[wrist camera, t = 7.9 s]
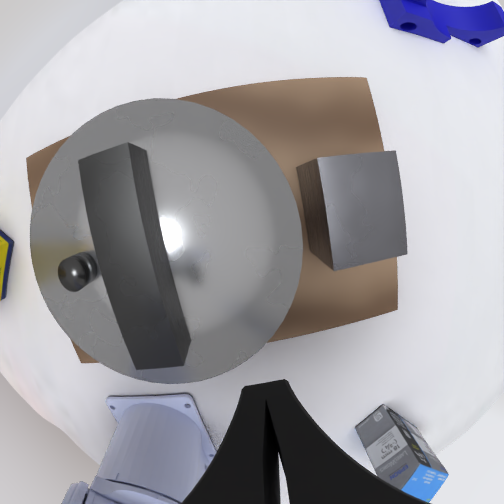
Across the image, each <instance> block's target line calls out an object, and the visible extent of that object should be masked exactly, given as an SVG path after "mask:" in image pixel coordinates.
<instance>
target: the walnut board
mask: <svg viewBox="0 0 504 504" xmlns="http://www.w3.org/2000/svg"><path fill="white" fill-rule="evenodd" d="M177 100H183V101H189V102H194V103H197V104H200V105H203V106H206V107H209V108H212V109H214V110H216V111H218V112H220V113H222V114H224V115H226V116H228V117H230V118H231V119H233V120H234V121H236V122H237V123H239V124H240V125H241V126H243V127H244V128H245V129H247V130H248V131H249V132H250V133H252V134H253V135H254V136H255V137H256V138H257V139H258V140H259V141H260V142H261V143H262V144H263V145H264V146H265V147H266V149H267V150H268V151H269V153H270V154H271V155H272V157H273V158H274V159H275V161H276V162H277V163H278V165H279V167H280V168H281V170H282V172H283V174H284V176H285V177H286V179H287V181H288V183H289V185H290V188H291V191H292V193H293V196H294V198H295V201H296V204H297V208H298V213H299V217H300V221H301V228H302V240H303V254H302V268H301V273H300V278H299V283H298V287H297V290H296V293H295V296H294V299H293V302H292V304H291V306H290V308H289V310H288V312H287V314H286V316H285V318H284V320H283V322H282V323H281V325H280V326H279V328H278V329H277V331H276V332H275V333H274V335H273V336H272V337H271V338H270V339H269V340H268V342H273V341H278V340H283V339H288V338H293V337H297V336H302V335H306V334H310V333H315V332H319V331H323V330H327V329H331V328H335V327H339V326H343V325H347V324H350V323H354V322H358V321H361V320H365V319H368V318H372V317H375V316H378V315H382V314H385V313H388V312H392V311H395V310H398V280H397V257H394V258H389V259H385V260H381V261H377V262H373V263H368V264H364V265H360V266H355V267H351V268H347V269H342V270H338V271H333V270H332V269H331V268H329V267H328V266H327V265H326V264H325V263H323V262H322V261H321V260H320V259H319V258H318V257H316V256H315V255H314V254H313V253H312V252H310V250H309V243H308V236H307V229H306V223H305V217H304V210H303V204H302V198H301V193H300V187H299V181H298V176H297V170H296V167H297V166H299V165H302V164H304V163H306V162H309V161H311V160H313V159H316V158H320V157H329V156H337V155H347V154H357V153H369V152H382V151H384V147H383V142H382V138H381V133H380V128H379V124H378V119H377V115H376V111H375V107H374V103H373V99H372V96H371V92H370V89H369V85H368V82H367V78H362V77H328V78H305V79H291V80H280V81H271V82H262V83H255V84H248V85H241V86H235V87H229V88H223V89H218V90H213V91H208V92H203V93H199V94H194V95H190V96H186V97H182V98H178V99H177ZM69 137H70V136H69ZM69 137H67V138H65V139H62V140H60V141H58V142H56V143H54V144H52V145H50V146H48V147H46V148H44V149H42V150H40V151H38V152H36V153H34V154H33V155H31V156H29V157H27V158H26V161H27V172H28V182H29V190H30V197H31V204H32V209H33V204H34V200H35V196H36V193H37V190H38V187H39V184H40V182H41V179H42V177H43V175H44V173H45V171H46V169H47V167H48V165H49V163H50V162H51V160H52V159H53V157H54V156H55V154H56V153H57V151H58V150H59V148H60V147H61V146H62V145H63V144H64V143H65V142H66V140H67V139H68V138H69ZM71 341H72V340H71ZM268 342H267V343H268ZM72 344H73V346H74V348H75V351H76V353H77V355H78V357H79V359H80V361H81V363H100V362H98V361H97V360H95V359H93V358H92V357H91V356H89V355H88V354H87V353H86V352H84V351H83V350H82V349H81V348H80V347H79V346H77V345H76V344H75V343H74V342H73V341H72Z"/></svg>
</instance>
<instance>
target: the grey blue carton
mask: <svg viewBox="0 0 504 504" xmlns="http://www.w3.org/2000/svg"><path fill="white" fill-rule="evenodd" d="M355 429H356V431H357V433H358V435H359V437H360V439H361V441H362V443H363V446H364V448H365V450H366V452H367V454H368V456H369V459H370V461H371V463H372V465H373V467H374V469H375V472H376V474H377V476H378V477H379V478H381V479H382V480H384V481H386V482H388V483H389V484H391V485H393V486H395V487H396V488H398V489H400V490H402V491H404V492H405V493H407V494H410V495H412V496H414V497H416V498H419V499H421V500H423V501H425V502H428V503H429V502H430V501H431V499H432V498H433V497H434V495H435V494H436V492H437V491H438V490H439V489H440V487H441V485H442V484H443V483H444V481H445V480H446V478H447V477H448V472H447V471H446V469H445V468H444V466H443V465H442V464H441V462H440V461H439V460H438V458H437V457H436V455H435V454H434V452H433V451H432V449H431V448H430V447H429V445H428V444H427V442H426V441H425V440H424V438H423V437H422V435H421V433H420V432H419V430H418V429H417V428H416V427H415V426H413V425H412V424H410V423H409V422H408V421H406V420H405V419H403V418H402V417H401V416H399V415H398V414H396V413H395V412H394V411H392V410H391V409H389V408H388V407H386V406H385V405H381V406H380V407H378V408H377V409H376V410H375V411H374V412H373V413H371V414H370V415H369V416H368V417H367V418H366V419H364V420H363V421H362V422H361V423H359V424H358V425H357V426H356V427H355Z"/></svg>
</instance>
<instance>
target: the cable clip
mask: <svg viewBox="0 0 504 504" xmlns="http://www.w3.org/2000/svg"><path fill="white" fill-rule="evenodd" d="M379 1H380V3H381V6H382V8H383V11H384V13H385V16H386V18H387V21H388V24H389V27H390V28H394V29H398V30H402V31H406V32H410V33H413V34H416V35H420V36H423V37H426V38H429V39H432V40H435V41H438V42H441V43H445V42H446V41H448V40H450V39H451V36H454V37H456V38H458V39H461V40H463V41H465V42H467V43H470V44H472V45H474V46H476V47H480V46H482V45H485V44H487V43H489V42H491V41H493V40H496V39H498V38H500V37H503V36H504V11H503V9H502V8H501V7H500V6H499V5H498V4H496V3H495V2H493V1H491V2H489V3H487V4H484V5H480V6H474V7H456V6H449V5H445V4H441V3H438V2H435V1H433V0H379ZM450 35H451V36H450Z"/></svg>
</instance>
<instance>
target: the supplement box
mask: <svg viewBox="0 0 504 504" xmlns="http://www.w3.org/2000/svg"><path fill="white" fill-rule="evenodd" d="M13 244H14V242H13V241H12V240H11V239H10V238H9V237H8V236H6V235H5V234H4V233H3V232H2V231H0V300H2V299H4V298H5V297H6V289H7V280H8V273H9V266H10V260H11V255H12V248H13Z"/></svg>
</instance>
